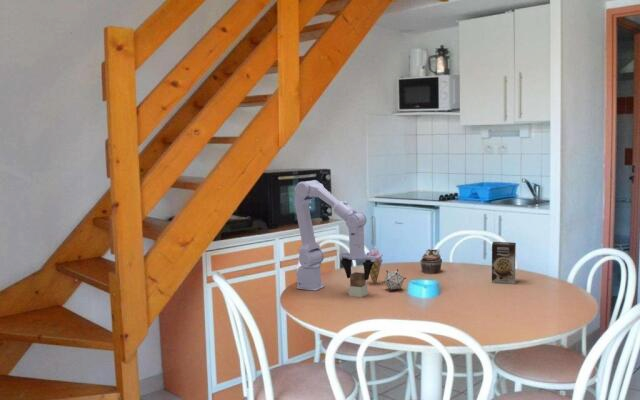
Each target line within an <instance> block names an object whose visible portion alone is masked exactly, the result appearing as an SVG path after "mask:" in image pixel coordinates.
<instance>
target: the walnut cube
mask: <svg viewBox="0 0 640 400" xmlns="http://www.w3.org/2000/svg"><path fill="white" fill-rule="evenodd" d="M349 279H350V281H349V283H350V285H349V286H354V287H362V286H364V285H366V284H367V283H366V282H367V280H365V278H364V272H359V271H355V272H353V273H351V275H350V278H349Z"/></svg>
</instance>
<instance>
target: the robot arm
mask: <svg viewBox="0 0 640 400" xmlns="http://www.w3.org/2000/svg"><path fill="white" fill-rule="evenodd" d="M294 194H295V196H294V203H293V204H294V208H295V209H294V210H295V213H296V219H297V224H298V228H299V234H300V239H301V244H302V245H301V246H300V248H299V249H298V252H299V256H298V262H299V265H300V266H298V268H297V271H296V281H297V282H296V284H297V286H296V289H298V290H299V289H300V290H307V291H313V292H314V291H318V290H320V289H323V288H325V287H326V284H322V271H321V269H322V268H321V266H322V263H323V262H324V259H325V256H324V253H323V251H322V249H321V245H320V244H319V243H317V241H316V238H315V237H316V236H315V232H314V227H313V221H312V216H311V212H310V206H309V204H310V203H311V201H313V199H314V198H319V199H320V200H322V201H323V202H325V203H326V204H327V205H329V206H330V207H331V208H333V213H334V214H336V215H337V216H338V217H339V218H341V220H343V221H344V222H345V225H346V227H347V228H348V229H347V230H348V239H349V240H348V241H349V242H348V243H349V244H348V245H349V253H340V254H339V260H340V264H341V265H342V267H343V269H344V272H345V275H346V278H347V279H350V275H351V274H352V262H353V261H361V262H362V265H363V270H364V271H363V273H364V278H365V280H366V281H368V280H369V279H370V271H371V268H372V266H373V264H374V261H375V256H370V255H367V254H365V226H366V224H367V217H366V215H365V214H364V212H362V211H357V210H356V208H355V209H354V208H353V207H352V206H351V205H349V204H348V203H349V202H348V201H346V200H345V201H344V200H338V199H337V198H336V197H335V196H334V195H333V194H332V193H331V192H329V190H327V189H326V188H325V187H324V184H323V183H320V182H319V181H318V180H316V179H313V180H306V181H299V182H297V184H296V185H295V187H294Z"/></svg>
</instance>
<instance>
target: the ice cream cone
mask: <svg viewBox="0 0 640 400" xmlns="http://www.w3.org/2000/svg"><path fill="white" fill-rule="evenodd" d="M379 251H380V250H379V249H378V248H375V247H373V248H372V249H369V251H368V252H366V255H370V256H375V261H374V264H373V266H372V268H371V271H370V274H369V277H370V278H371V282H372V284H373V285H376V284H377V283H378V278H379V275H380V269H381V267H382V263H383V258H382V257H383V254H380V252H379Z"/></svg>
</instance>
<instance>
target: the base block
mask: <svg viewBox="0 0 640 400" xmlns="http://www.w3.org/2000/svg"><path fill="white" fill-rule="evenodd" d="M347 288H348V297H356V298H363V297H365V296H366V295H368V294H369V293H368V292H369V291H368V284H367V283H366V285H364V286H362V287H354V286H350V285H349V286H348V287H347Z"/></svg>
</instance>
